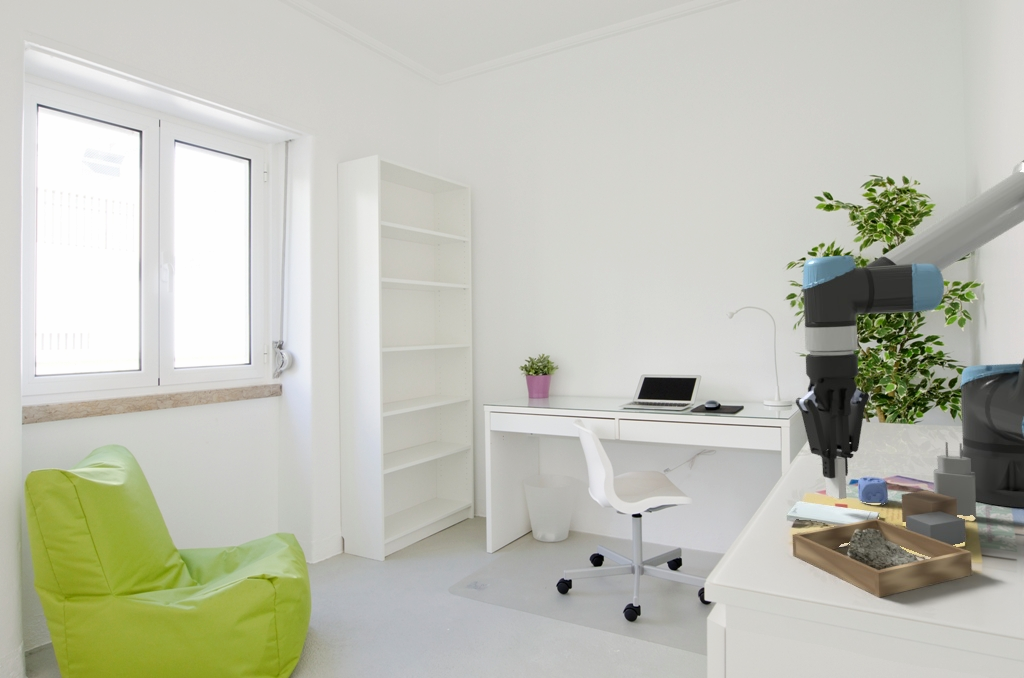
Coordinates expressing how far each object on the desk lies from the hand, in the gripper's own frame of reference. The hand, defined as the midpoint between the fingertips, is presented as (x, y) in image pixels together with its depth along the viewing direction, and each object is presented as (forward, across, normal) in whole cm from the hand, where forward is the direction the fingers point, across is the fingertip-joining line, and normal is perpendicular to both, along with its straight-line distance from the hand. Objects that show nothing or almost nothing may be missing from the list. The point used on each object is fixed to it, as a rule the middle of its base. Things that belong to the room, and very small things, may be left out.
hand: (836, 496), depth 102 cm
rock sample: (+4, +9, +18) cm, 21 cm away
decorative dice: (+4, -12, -4) cm, 13 cm away
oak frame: (+4, +9, +16) cm, 19 cm away
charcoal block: (+4, -4, +14) cm, 15 cm away
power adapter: (+4, -17, +7) cm, 19 cm away
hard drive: (+5, 0, 0) cm, 5 cm away
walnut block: (+4, -9, +9) cm, 13 cm away
